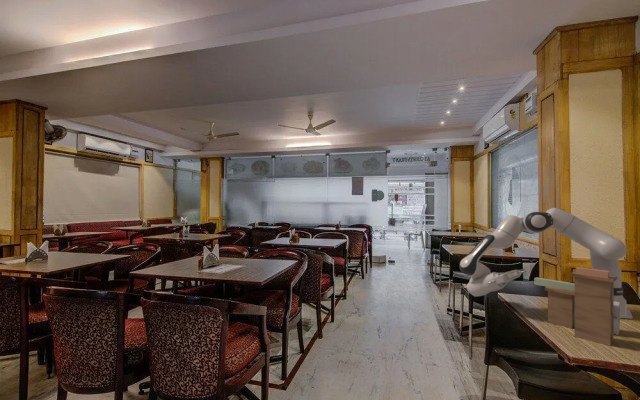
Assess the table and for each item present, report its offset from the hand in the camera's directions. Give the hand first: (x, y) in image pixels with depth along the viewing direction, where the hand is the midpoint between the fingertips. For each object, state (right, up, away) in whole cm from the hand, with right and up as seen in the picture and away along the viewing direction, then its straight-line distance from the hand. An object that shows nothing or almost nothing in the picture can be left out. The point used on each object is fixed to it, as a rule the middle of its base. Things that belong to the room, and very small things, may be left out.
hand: (521, 271), depth 160 cm
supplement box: (+24, -21, -21) cm, 39 cm away
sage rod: (+10, -5, -13) cm, 17 cm away
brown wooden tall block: (+11, -21, -30) cm, 38 cm away
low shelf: (+10, -21, -13) cm, 27 cm away
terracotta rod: (+9, +5, -31) cm, 33 cm away
